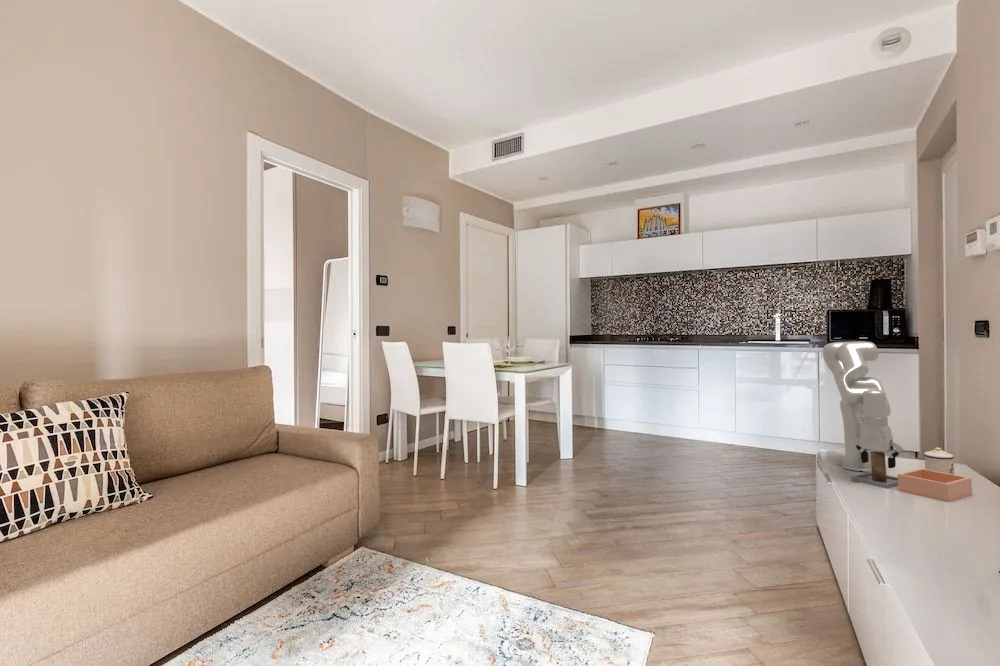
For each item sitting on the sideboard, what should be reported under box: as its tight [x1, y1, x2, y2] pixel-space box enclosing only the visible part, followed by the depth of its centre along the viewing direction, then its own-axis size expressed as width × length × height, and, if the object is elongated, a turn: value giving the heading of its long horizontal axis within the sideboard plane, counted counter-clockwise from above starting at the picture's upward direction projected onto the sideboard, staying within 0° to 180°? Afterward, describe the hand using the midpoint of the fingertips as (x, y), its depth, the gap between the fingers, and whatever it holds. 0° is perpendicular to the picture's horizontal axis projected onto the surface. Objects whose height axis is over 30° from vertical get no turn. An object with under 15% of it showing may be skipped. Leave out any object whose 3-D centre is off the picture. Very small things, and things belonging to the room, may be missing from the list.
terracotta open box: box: [897, 468, 973, 503], centre depth 175 cm, size 15×15×6 cm
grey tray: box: [850, 472, 898, 489], centre depth 190 cm, size 13×13×2 cm
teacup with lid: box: [923, 447, 955, 475], centre depth 196 cm, size 12×9×12 cm
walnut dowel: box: [870, 450, 887, 482], centre depth 190 cm, size 4×4×11 cm
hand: (878, 464), depth 190 cm, fingers open, 9 cm apart
